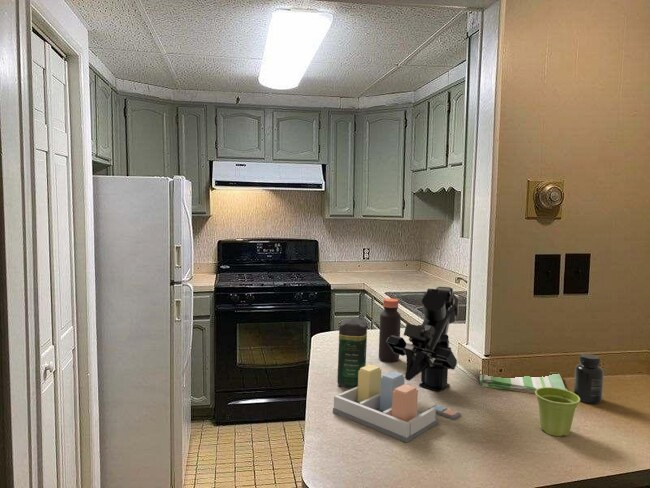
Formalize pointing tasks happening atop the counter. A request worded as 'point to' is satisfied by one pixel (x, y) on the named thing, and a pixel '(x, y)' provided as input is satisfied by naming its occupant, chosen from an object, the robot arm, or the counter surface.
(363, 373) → the yellow block
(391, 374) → the pale blue block
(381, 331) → the vinegar
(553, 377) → the dish towel
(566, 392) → the plant pot
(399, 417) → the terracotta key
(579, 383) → the supplement bottle
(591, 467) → the counter surface
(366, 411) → the grey divided tray
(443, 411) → the tile
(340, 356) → the coffee jar
